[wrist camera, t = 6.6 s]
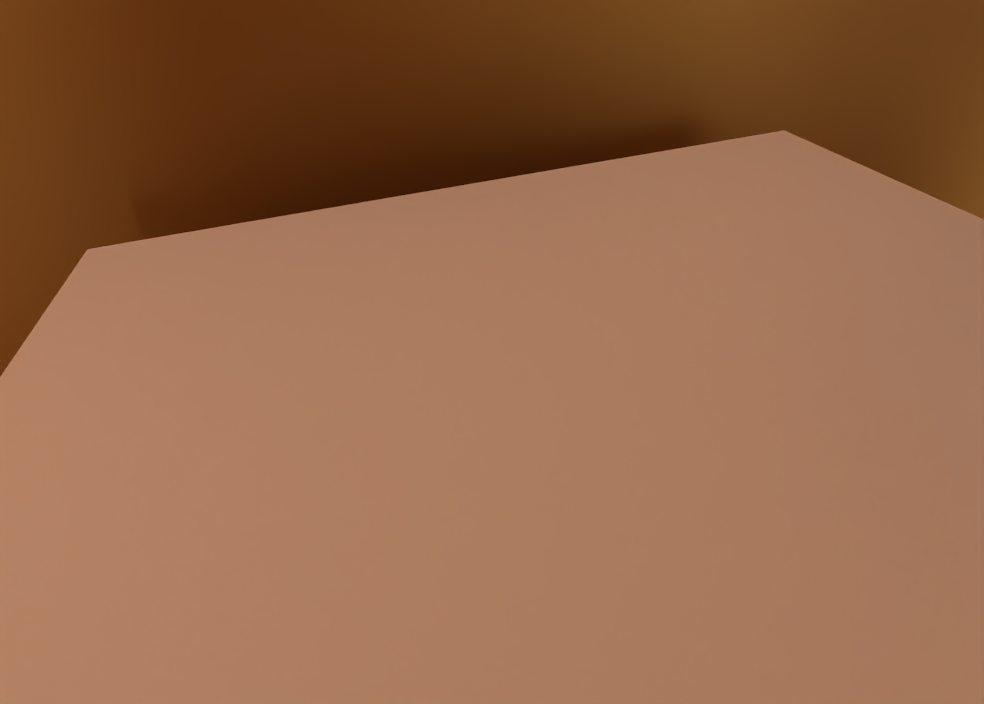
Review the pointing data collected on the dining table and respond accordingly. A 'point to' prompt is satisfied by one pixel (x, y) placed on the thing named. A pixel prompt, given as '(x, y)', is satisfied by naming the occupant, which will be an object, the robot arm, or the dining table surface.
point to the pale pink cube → (513, 448)
